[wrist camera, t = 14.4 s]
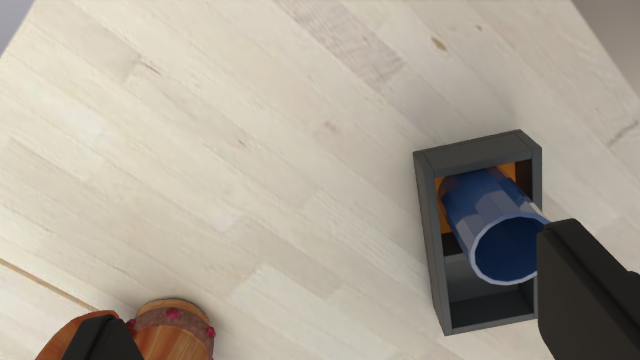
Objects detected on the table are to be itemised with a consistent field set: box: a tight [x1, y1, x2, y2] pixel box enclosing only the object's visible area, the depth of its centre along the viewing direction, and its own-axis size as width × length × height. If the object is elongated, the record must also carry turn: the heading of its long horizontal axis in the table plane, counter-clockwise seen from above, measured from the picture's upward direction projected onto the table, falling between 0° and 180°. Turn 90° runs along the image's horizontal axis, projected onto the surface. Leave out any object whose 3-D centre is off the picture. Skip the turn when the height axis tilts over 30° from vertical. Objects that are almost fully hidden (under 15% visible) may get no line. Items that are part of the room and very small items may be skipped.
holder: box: [413, 129, 542, 336], centre depth 44 cm, size 9×18×4 cm, turn 12°
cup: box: [438, 166, 551, 285], centre depth 39 cm, size 6×6×9 cm
